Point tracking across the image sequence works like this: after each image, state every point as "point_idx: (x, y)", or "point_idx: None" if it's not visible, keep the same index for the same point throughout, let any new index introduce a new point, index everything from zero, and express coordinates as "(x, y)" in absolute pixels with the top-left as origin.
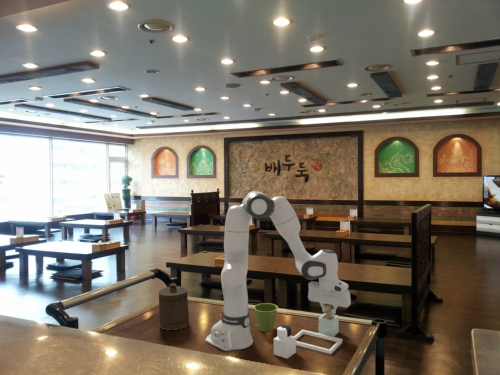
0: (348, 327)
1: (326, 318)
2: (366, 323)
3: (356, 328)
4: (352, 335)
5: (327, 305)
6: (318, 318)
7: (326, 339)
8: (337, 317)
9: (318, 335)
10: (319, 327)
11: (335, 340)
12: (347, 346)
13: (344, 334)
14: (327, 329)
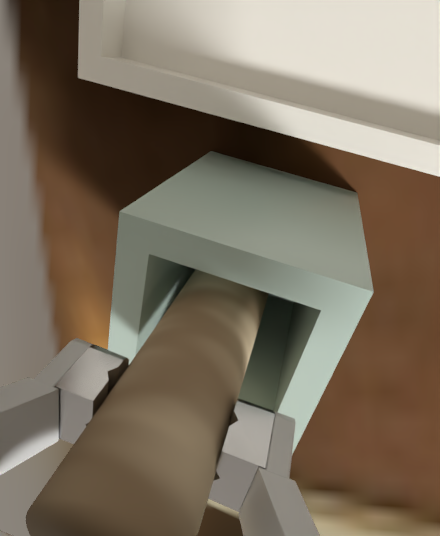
0: None
1: (240, 313)
2: None
3: None
4: (88, 269)
5: (112, 515)
6: (371, 286)
7: (259, 94)
8: None
9: (356, 121)
10: (350, 223)
11: (154, 66)
12: (58, 46)
13: None
14: (242, 192)
